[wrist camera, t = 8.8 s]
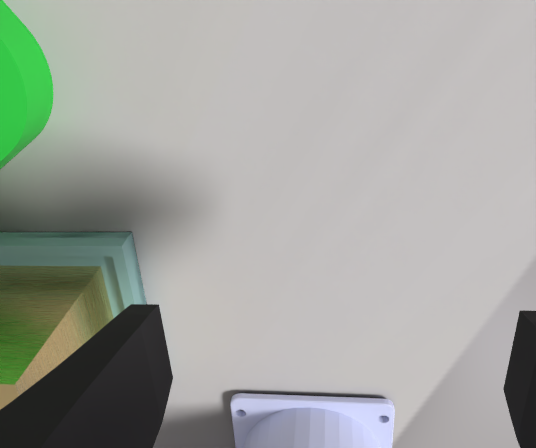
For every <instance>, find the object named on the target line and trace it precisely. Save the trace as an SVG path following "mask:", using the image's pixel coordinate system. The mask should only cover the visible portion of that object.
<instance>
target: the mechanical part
mask: <svg viewBox="0 0 536 448" xmlns="http://www.w3.org/2000/svg"><path fill="white" fill-rule="evenodd" d="M52 104H53V83H52V77H51V73H50V69H49V66H48V63H47V61H46V58H45V56H44V54H43V52H42V49H41V48H40V46H39V44H38V43H37V41H36V39H35V38H34V37H33V35H32V34H31V32H30V31H29V30H28V29H27V28H26V26H25V25H24V24H23V23H22V22H21V21H20V20H19V18H18V17H17V16H16V15H15V14H14V13H13V12H12V11H11V9H10V8H9V7H8V6H7V5H6V4H5V3H4V2H3V0H0V169H1V168H2V167H3V166H5V165H6V164H7V163H8V162H9V161H10V160H11V159H12V158H13V157H15V156H16V155H17V154H18V153H19V152H20V151H21V150H22V149H23V148H25V147H26V146H27V145H28V144H29V143H30V142H31V141H32V140H34V139H35V138H36V137H37V136H38V135H39V134H40V132H41V131H42V130H43V128H44V127H45V125H46V123H47V121H48V119H49V116H50V113H51V109H52Z"/></svg>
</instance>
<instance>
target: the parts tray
mask: <svg viewBox="0 0 536 448" xmlns="http://www.w3.org/2000/svg"><path fill="white" fill-rule="evenodd" d="M0 265H4V266H101V269H102V273H103V277H104V281H105V285H106V289H107V293H108V297H109V301H110V305H111V309H112V313H113V317H114V318H115V317H116V316H117V315H118V314H119V313H121V312H122V311H123V310H124V309H126V308H127V307H128V306H129V305H131V304H146V299H145V294H144V289H143V284H142V280H141V275H140V270H139V265H138V260H137V255H136V250H135V246H134V241H133V236H132V232H0Z"/></svg>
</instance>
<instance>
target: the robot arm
mask: <svg viewBox="0 0 536 448" xmlns="http://www.w3.org/2000/svg"><path fill="white" fill-rule="evenodd" d="M172 380H173V376H172V371H171V366H170V360H169V355H168V350H167V345H166V340H165V335H164V329H163V324H162V319H161V314H160V309H159V305H147V304H131V305H129V306H128V307H127V308H126V309H124V310H123V311H122V312H121V313H119V314H118V315H117V316H116V317H115V318H114V319H112V320H111V321H110V322H109V323H108V324H107V325H105V326H104V327H103V328H102V329H101V330H100V331H98V332H97V333H96V334H95V335H94V336H93V337H91V338H90V339H89V340H88V341H87V342H86V343H84V344H83V345H82V346H81V347H80V348H78V349H77V350H76V351H75V352H74V353H72V354H71V355H70V356H69V357H68V358H66V359H65V360H64V361H63V362H62V363H61V364H59V365H58V366H57V367H56V368H54V369H53V370H52V371H51V372H49V373H48V374H47V375H45V376H44V377H43V378H41V379H40V380H39V381H38V382H36V383H35V384H34V385H32V386H31V387H30V388H28V389H27V390H26V391H25V392H23V393H22V394H21V395H19V396H18V397H17V398H16V399H14V400H13V401H12V402H10V403H9V404H7V405H6V406H5V407H3V408H2V409H1V410H0V448H153V445H154V443H155V440H156V437H157V435H158V432H159V429H160V427H161V424H162V420H163V417H164V413H165V409H166V405H167V401H168V397H169V392H170V388H171V384H172ZM504 393H505V397H506V400H507V404H508V408H509V412H510V416H511V420H512V423H513V427H514V430H515V434H516V437H517V440H518V443H519V445H520V447H521V448H536V311H520V312H519V318H518V322H517V327H516V332H515V337H514V341H513V346H512V351H511V356H510V361H509V366H508V370H507V375H506V380H505V385H504ZM230 407H231V415H232V423H233V431H234V438H235V446H236V448H392V440H393V427H394V414H395V410H394V404H393V403H392V401H390V400H388V399H380V398H353V397H326V396H299V395H272V394H245V393H239V394H235V395H233V396H232V398H231V403H230ZM240 409H241V410H244V411H241V410H240ZM383 415H385V416H384V417H382V416H383Z"/></svg>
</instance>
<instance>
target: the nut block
mask: <svg viewBox="0 0 536 448" xmlns="http://www.w3.org/2000/svg"><path fill="white" fill-rule="evenodd" d="M112 319H114V317H113V313H112V309H111V305H110V301H109V297H108V293H107V289H106V285H105V281H104V277H103V273H102V269H101V266H4V265H0V410H1V409H2V408H3V407H5V406H6V405H7V404H9V403H10V402H12V401H13V400H14V399H16V398H17V397H18V396H19V395H21V394H22V393H23V392H25V391H26V390H27V389H28V388H30V387H31V386H32V385H34V384H35V383H36V382H38V381H39V380H40V379H41V378H43V377H44V376H45V375H47V374H48V373H49V372H51V371H52V370H53V369H54V368H56V367H57V366H58V365H59V364H61V363H62V362H63V361H64V360H65V359H66V358H68V357H69V356H70V355H71V354H72V353H74V352H75V351H76V350H77V349H78V348H80V347H81V346H82V345H83V344H84V343H86V342H87V341H88V340H89V339H90V338H91V337H93V336H94V335H95V334H96V333H97V332H98V331H100V330H101V329H102V328H103V327H104V326H105V325H107V324H108V323H109V322H110V321H111V320H112Z"/></svg>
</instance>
